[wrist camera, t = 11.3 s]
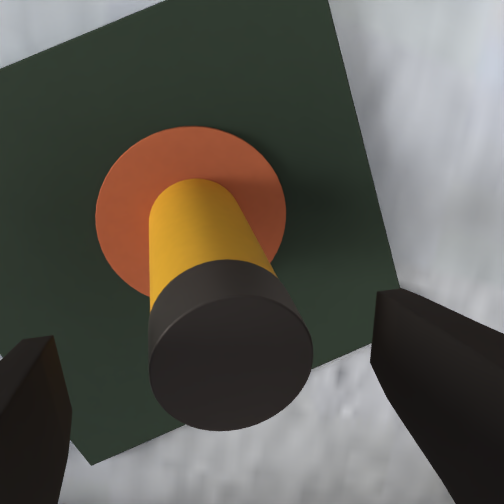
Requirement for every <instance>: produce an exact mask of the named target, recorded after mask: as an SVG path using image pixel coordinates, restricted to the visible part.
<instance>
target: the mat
mask: <svg viewBox="0 0 504 504" xmlns="http://www.w3.org/2000/svg"><path fill="white" fill-rule="evenodd" d="M187 179H206V180H210V181H213V182H216V183H218V184H220V185H221V186H223V187H224V188H226V189H227V190H228V191H229V192H230V193H231V194H232V195H233V197H234V198H235V200H236V201H237V203H238V205H239V207H240V209H241V211H242V212H243V214H244V216H245V218H246V220H247V222H248V224H249V225H250V227H251V229H252V231H253V233H254V235H255V237H256V238H257V240H258V242H259V244H260V246H261V248H262V250H263V251H264V253H265V255H266V257H267V259H268V261H269V263H270V264H271V266H272V268H273V270H274V272H275V274H276V276H277V277H278V279H279V280H280V282H281V283H282V284H283V285H284V287H285V288H286V290H287V292H288V293H289V295H290V297H291V299H292V301H293V303H294V304H295V306H296V308H297V310H298V312H299V314H300V315H301V317H302V319H303V321H304V323H305V324H306V326H307V328H308V330H309V333H310V335H311V339H312V343H313V364H312V368H311V369H313V368H316V367H318V366H320V365H322V364H325V363H327V362H329V361H332V360H334V359H336V358H338V357H341V356H343V355H345V354H348V353H350V352H352V351H354V350H357V349H359V348H361V347H364V346H366V345H368V344H370V343H372V337H373V327H374V316H375V306H376V296H377V291H384V290H392V289H399V288H400V286H399V282H398V278H397V274H396V270H395V266H394V262H393V258H392V254H391V250H390V246H389V242H388V238H387V234H386V230H385V226H384V223H383V219H382V215H381V211H380V207H379V203H378V199H377V195H376V191H375V187H374V183H373V179H372V175H371V171H370V167H369V163H368V159H367V155H366V151H365V147H364V143H363V139H362V135H361V131H360V127H359V123H358V119H357V115H356V111H355V107H354V103H353V99H352V95H351V91H350V87H349V83H348V79H347V75H346V71H345V67H344V63H343V59H342V55H341V51H340V47H339V43H338V39H337V35H336V31H335V27H334V23H333V19H332V15H331V11H330V7H329V3H328V0H165V1H163V2H160V3H158V4H156V5H153V6H151V7H148V8H146V9H144V10H141V11H139V12H136V13H134V14H131V15H129V16H127V17H124V18H122V19H119V20H117V21H115V22H112V23H110V24H107V25H105V26H103V27H100V28H98V29H95V30H93V31H91V32H88V33H86V34H83V35H81V36H78V37H76V38H74V39H71V40H69V41H66V42H64V43H62V44H59V45H57V46H54V47H52V48H50V49H47V50H45V51H42V52H40V53H38V54H35V55H33V56H30V57H28V58H25V59H23V60H21V61H18V62H16V63H13V64H11V65H9V66H6V67H4V68H1V69H0V354H1V356H2V357H3V358H4V357H5V356H6V355H7V354H8V353H9V352H10V351H11V350H12V349H13V348H14V347H15V346H16V345H17V344H18V343H19V342H20V341H21V340H22V339H28V338H36V337H43V336H50V335H54V339H55V343H56V347H57V351H58V355H59V359H60V363H61V367H62V371H63V375H64V379H65V383H66V387H67V391H68V395H69V399H70V403H71V406H72V422H71V433H70V440H71V441H72V443H73V444H74V445H75V446H76V448H77V449H78V450H79V451H80V452H81V454H82V455H83V456H84V457H85V459H86V460H87V461H88V462H89V463H90V465H94V464H96V463H99V462H101V461H103V460H106V459H108V458H110V457H112V456H115V455H117V454H119V453H122V452H124V451H126V450H128V449H131V448H133V447H135V446H138V445H140V444H142V443H144V442H147V441H149V440H151V439H154V438H156V437H158V436H160V435H163V434H165V433H167V432H169V431H172V430H174V429H176V428H179V427H181V426H183V425H185V424H184V423H182V422H180V421H178V420H176V419H175V418H173V417H172V416H171V415H170V414H168V413H167V412H166V411H165V410H164V409H163V408H162V407H161V405H160V404H159V403H158V401H157V400H156V398H155V396H154V394H153V392H152V389H151V386H150V382H149V371H148V324H149V317H150V271H149V216H150V211H151V209H152V206H153V204H154V202H155V200H156V199H157V198H158V196H159V195H160V194H161V193H162V192H163V191H164V190H165V189H167V188H168V187H170V186H171V185H173V184H175V183H177V182H180V181H183V180H187Z"/></svg>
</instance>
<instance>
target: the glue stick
mask: <svg viewBox="0 0 504 504" xmlns="http://www.w3.org/2000/svg"><path fill="white" fill-rule="evenodd" d="M149 271H150V317H149V324H148V371H149V382H150V386H151V389H152V392H153V394H154V396H155V398H156V400H157V401H158V403H159V404H160V405H161V407H162V408H163V409H164V410H165V411H166V412H167V413H168V414H170V415H171V416H172V417H173V418H175V419H176V420H178V421H180V422H182V423H184V424H186V425H189V426H191V427H195V428H198V429H203V430H209V431H231V430H238V429H242V428H246V427H250V426H253V425H256V424H259V423H261V422H263V421H265V420H267V419H269V418H271V417H273V416H274V415H276V414H277V413H279V412H280V411H282V410H283V409H284V408H285V407H287V406H288V405H289V404H290V403H291V402H292V401H293V400H294V399H295V398H296V397H297V395H298V394H299V393H300V391H301V390H302V388H303V387H304V385H305V383H306V381H307V380H308V377H309V374H310V372H311V368H312V364H313V343H312V339H311V335H310V333H309V330H308V328H307V326H306V324H305V323H304V321H303V319H302V317H301V315H300V314H299V312H298V310H297V308H296V306H295V304H294V303H293V301H292V299H291V297H290V295H289V293H288V292H287V290H286V288H285V287H284V285H283V284H282V283H281V282H280V280H279V279H278V277H277V276H276V274H275V272H274V270H273V268H272V266H271V264H270V263H269V261H268V259H267V257H266V255H265V253H264V251H263V250H262V248H261V246H260V244H259V242H258V240H257V238H256V237H255V235H254V233H253V231H252V229H251V227H250V225H249V224H248V222H247V220H246V218H245V216H244V214H243V212H242V211H241V209H240V207H239V205H238V203H237V201H236V200H235V198H234V197H233V195H232V194H231V193H230V192H229V191H228V190H227V189H226V188H224V187H223V186H221V185H220V184H218V183H216V182H213V181H210V180H206V179H187V180H183V181H180V182H177V183H175V184H173V185H171V186H170V187H168V188H167V189H165V190H164V191H163V192H162V193H161V194H160V195H159V196H158V198H157V199H156V200H155V202H154V204H153V206H152V209H151V211H150V216H149Z"/></svg>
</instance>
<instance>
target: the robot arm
mask: <svg viewBox="0 0 504 504" xmlns="http://www.w3.org/2000/svg"><path fill="white" fill-rule="evenodd" d="M370 363H371V365H372V368H373V370H374V372H375V374H376V376H377V378H378V381H379V383H380V385H381V387H382V389H383V391H384V393H385V395H386V397H387V399H388V400H389V402H390V403H391V405H392V407H393V408H394V410H395V411H396V413H397V414H398V416H399V417H400V419H401V420H402V422H403V423H404V425H405V426H406V428H407V429H408V431H409V432H410V434H411V435H412V437H413V438H414V440H415V441H416V443H417V444H418V446H419V447H420V449H421V450H422V452H423V453H424V455H425V456H426V458H427V459H428V461H429V462H430V464H431V465H432V467H433V468H434V470H435V471H436V473H437V474H438V476H439V477H440V479H441V480H442V482H443V483H444V485H445V487H446V488H447V490H448V492H449V493H450V495H451V497H452V498H453V500H454V501H455V503H456V504H504V334H503V333H501V332H498V331H496V330H494V329H491V328H489V327H487V326H485V325H483V324H480V323H478V322H476V321H474V320H472V319H469V318H467V317H465V316H463V315H461V314H459V313H457V312H454V311H452V310H450V309H448V308H446V307H444V306H442V305H440V304H437V303H435V302H433V301H431V300H429V299H427V298H424V297H422V296H420V295H417V294H415V293H413V292H410V291H408V290H405V289H402V288H399V289H392V290H384V291H377V296H376V306H375V316H374V327H373V337H372V347H371V357H370ZM71 422H72V406H71V403H70V399H69V395H68V391H67V387H66V383H65V379H64V375H63V371H62V367H61V363H60V359H59V355H58V351H57V347H56V343H55V339H54V335H50V336H43V337H36V338H28V339H22V340H21V341H20V342H19V343H18V344H17V345H16V346H15V347H14V348H13V349H12V350H11V351H10V352H9V353H8V354H7V355H6V356H5V357H4V358H3V359H2V360H1V361H0V504H58V499H59V495H60V490H61V486H62V482H63V477H64V473H65V468H66V463H67V459H68V453H69V443H70V433H71Z"/></svg>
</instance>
